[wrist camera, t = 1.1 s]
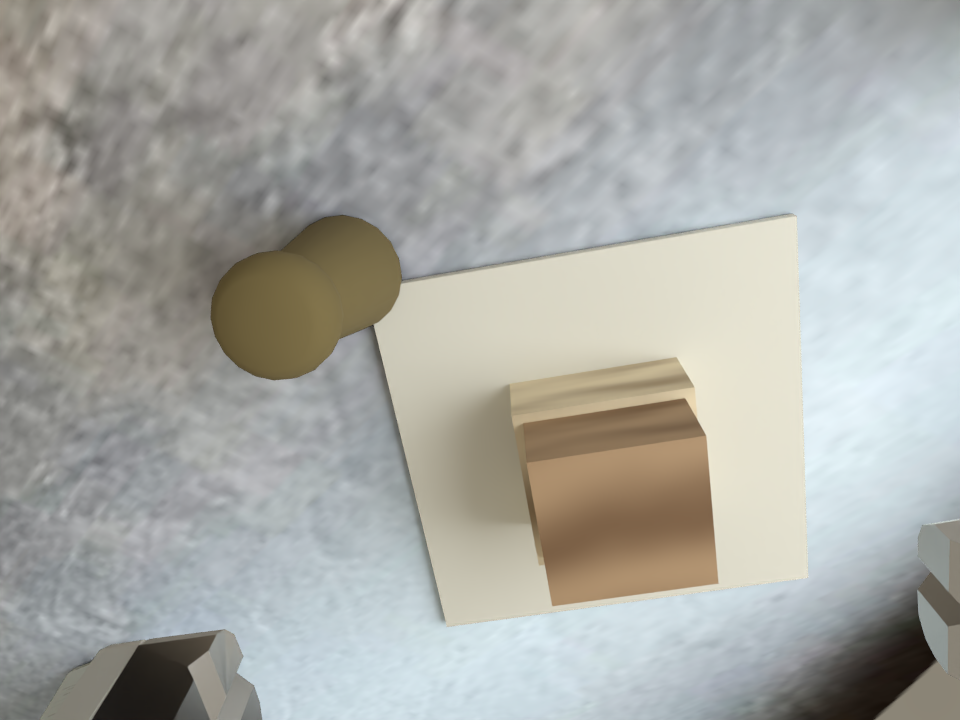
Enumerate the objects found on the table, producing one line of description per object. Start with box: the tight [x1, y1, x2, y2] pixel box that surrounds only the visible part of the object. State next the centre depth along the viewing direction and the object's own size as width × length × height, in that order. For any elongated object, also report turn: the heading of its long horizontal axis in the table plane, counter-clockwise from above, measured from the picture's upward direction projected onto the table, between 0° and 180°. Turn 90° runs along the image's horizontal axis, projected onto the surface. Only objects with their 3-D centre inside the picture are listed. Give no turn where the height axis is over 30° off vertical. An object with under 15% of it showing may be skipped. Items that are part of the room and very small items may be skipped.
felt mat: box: [374, 214, 808, 627], centre depth 44 cm, size 22×22×1 cm
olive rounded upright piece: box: [211, 215, 402, 380], centre depth 35 cm, size 6×6×11 cm
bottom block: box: [510, 357, 698, 566], centre depth 42 cm, size 9×9×4 cm
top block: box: [523, 398, 719, 606], centre depth 38 cm, size 8×8×4 cm
